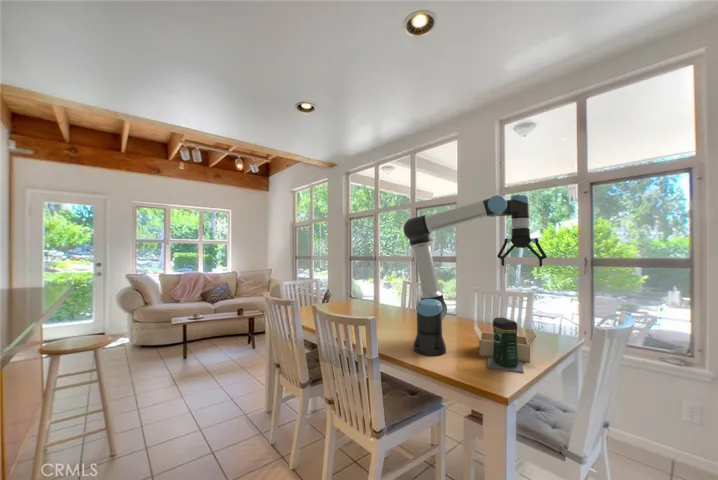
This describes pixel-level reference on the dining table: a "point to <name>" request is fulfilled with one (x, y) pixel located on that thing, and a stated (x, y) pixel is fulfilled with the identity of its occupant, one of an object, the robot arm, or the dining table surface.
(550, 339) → the dining table surface
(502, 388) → the dining table surface
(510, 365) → the coffee jar
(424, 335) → the robot arm
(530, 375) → the dining table surface
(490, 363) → the mat
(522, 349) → the carton
